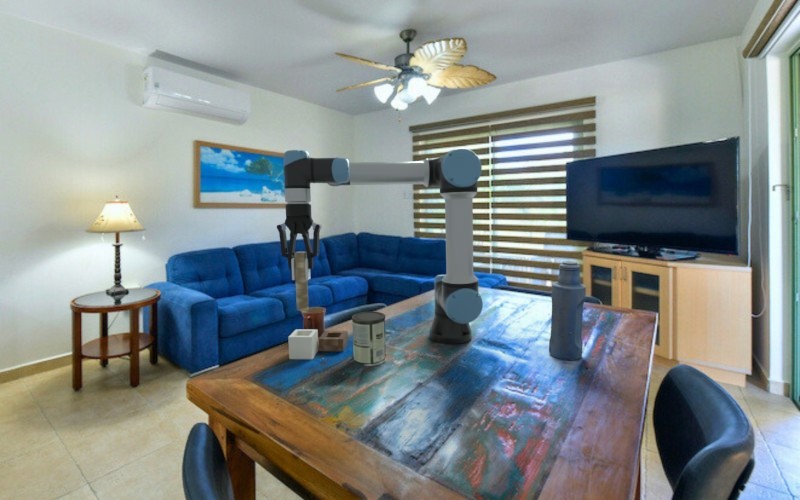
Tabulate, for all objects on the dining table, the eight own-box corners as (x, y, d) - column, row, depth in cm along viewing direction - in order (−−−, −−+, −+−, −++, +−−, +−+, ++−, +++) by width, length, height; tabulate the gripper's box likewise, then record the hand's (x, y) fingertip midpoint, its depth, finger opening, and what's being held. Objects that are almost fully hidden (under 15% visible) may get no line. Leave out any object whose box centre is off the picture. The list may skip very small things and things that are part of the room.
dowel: (310, 307, 119) (307, 251, 117) (306, 310, 116) (304, 253, 114) (298, 307, 120) (296, 251, 118) (295, 310, 116) (292, 253, 114)
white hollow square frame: (318, 353, 123) (317, 329, 122) (312, 362, 116) (311, 337, 115) (296, 352, 123) (295, 329, 122) (289, 362, 116) (288, 337, 115)
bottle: (556, 346, 127) (559, 258, 123) (587, 354, 120) (591, 261, 116) (543, 355, 120) (547, 261, 116) (575, 363, 113) (580, 265, 109)
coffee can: (361, 351, 124) (360, 310, 122) (390, 355, 121) (390, 312, 119) (347, 364, 114) (345, 319, 113) (378, 368, 111) (377, 322, 109)
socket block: (348, 345, 130) (347, 331, 129) (343, 354, 122) (343, 339, 121) (325, 344, 130) (324, 330, 130) (319, 353, 122) (318, 339, 122)
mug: (308, 332, 143) (307, 306, 142) (330, 334, 142) (329, 307, 140) (293, 344, 132) (292, 315, 130) (317, 345, 130) (316, 316, 129)
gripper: (328, 202, 117) (330, 276, 120) (275, 203, 118) (279, 277, 121) (322, 202, 110) (325, 281, 113) (266, 203, 111) (270, 281, 113)
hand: (301, 279), depth 117 cm, fingers closed on dowel, 3 cm apart
